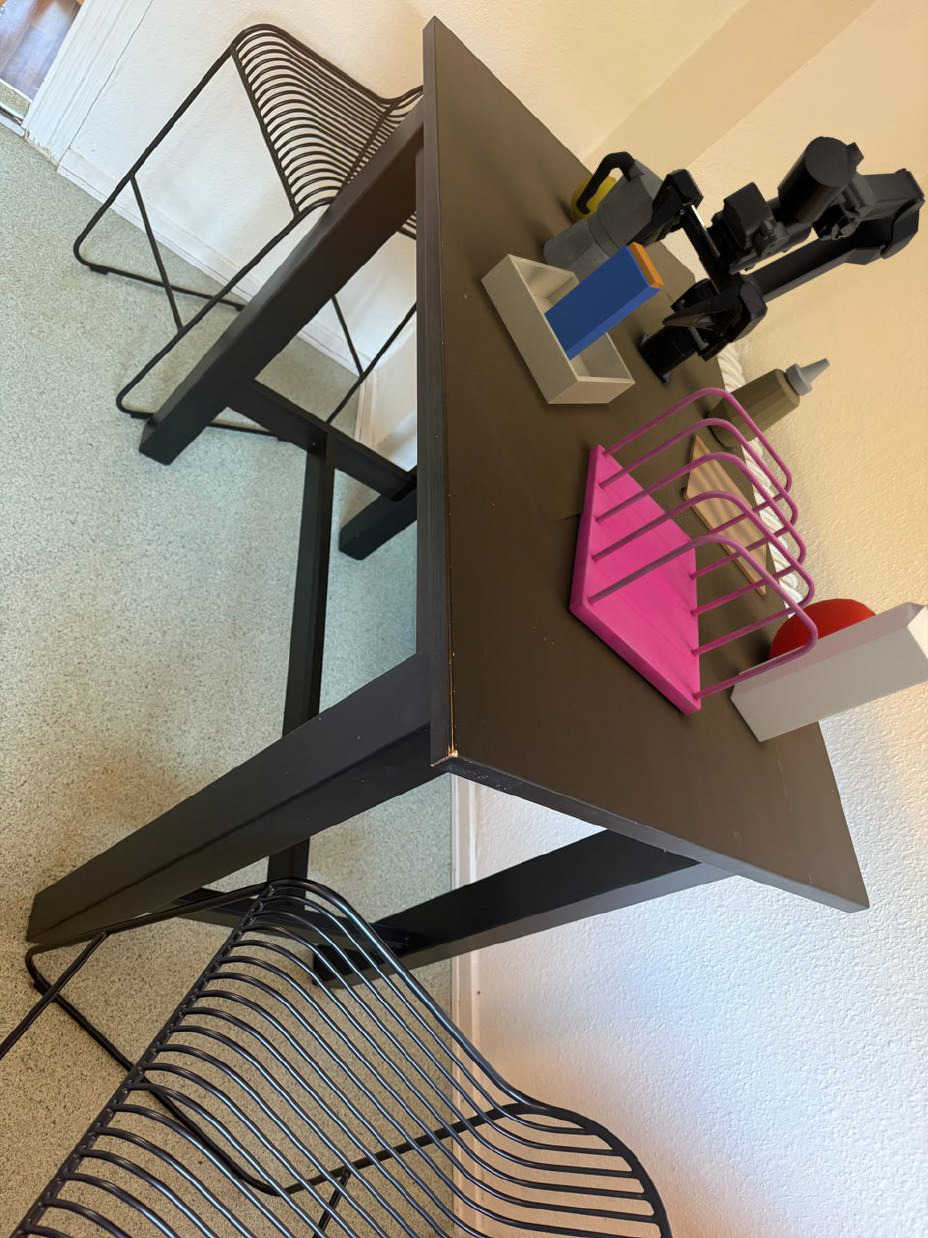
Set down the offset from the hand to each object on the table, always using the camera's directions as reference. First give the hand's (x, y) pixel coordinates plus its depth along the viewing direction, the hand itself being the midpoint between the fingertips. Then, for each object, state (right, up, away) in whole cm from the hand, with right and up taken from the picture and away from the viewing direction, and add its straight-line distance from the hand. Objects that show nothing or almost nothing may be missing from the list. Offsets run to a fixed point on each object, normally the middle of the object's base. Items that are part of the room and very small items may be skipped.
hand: (643, 285), depth 90 cm
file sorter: (-3, -32, -6) cm, 33 cm away
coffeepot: (-8, +9, +17) cm, 21 cm away
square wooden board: (+17, -22, +24) cm, 36 cm away
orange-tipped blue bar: (-10, -6, +3) cm, 12 cm away
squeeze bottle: (+20, -7, +38) cm, 43 cm away
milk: (+12, -46, +1) cm, 48 cm away
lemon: (-4, +22, +31) cm, 39 cm away
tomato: (+18, -43, +11) cm, 48 cm away
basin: (-11, -6, +3) cm, 12 cm away
